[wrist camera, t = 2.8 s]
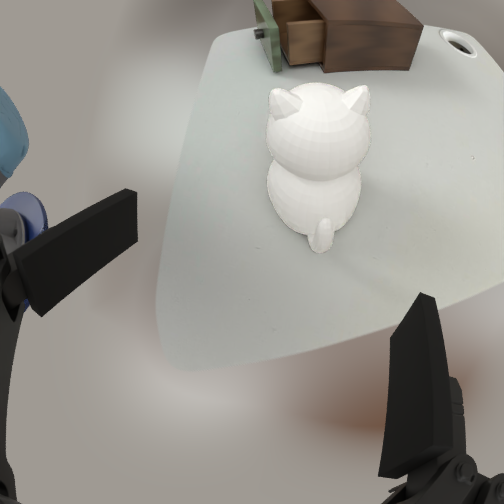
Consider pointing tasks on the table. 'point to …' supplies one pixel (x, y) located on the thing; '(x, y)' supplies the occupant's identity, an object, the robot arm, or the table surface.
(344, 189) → the cat figurine
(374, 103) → the table surface
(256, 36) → the drawer
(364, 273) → the table surface
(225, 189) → the table surface
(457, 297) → the table surface
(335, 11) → the cabinet
